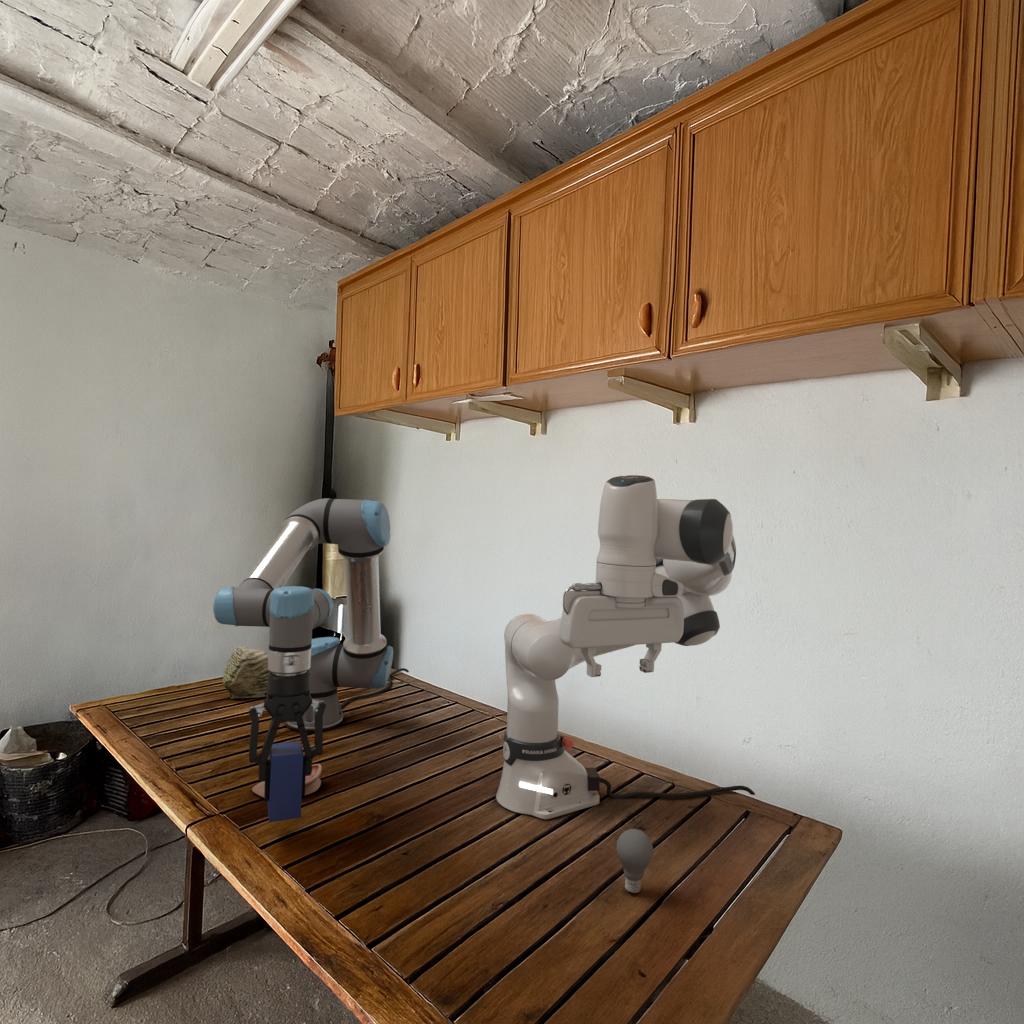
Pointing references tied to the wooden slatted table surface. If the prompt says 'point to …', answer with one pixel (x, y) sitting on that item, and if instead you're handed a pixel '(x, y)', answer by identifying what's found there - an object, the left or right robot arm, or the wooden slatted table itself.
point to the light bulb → (634, 857)
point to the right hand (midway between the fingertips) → (620, 673)
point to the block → (285, 781)
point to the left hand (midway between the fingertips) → (284, 794)
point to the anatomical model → (310, 782)
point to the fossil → (247, 673)
